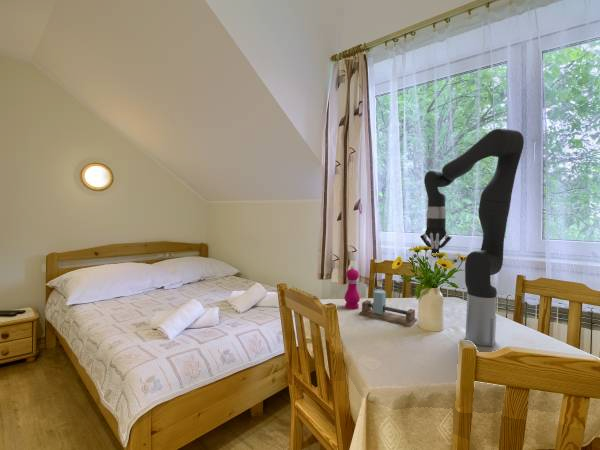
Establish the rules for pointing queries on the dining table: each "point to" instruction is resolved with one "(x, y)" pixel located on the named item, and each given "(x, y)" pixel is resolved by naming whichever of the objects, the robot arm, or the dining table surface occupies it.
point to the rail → (389, 314)
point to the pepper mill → (352, 289)
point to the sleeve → (379, 302)
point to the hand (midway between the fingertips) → (435, 257)
